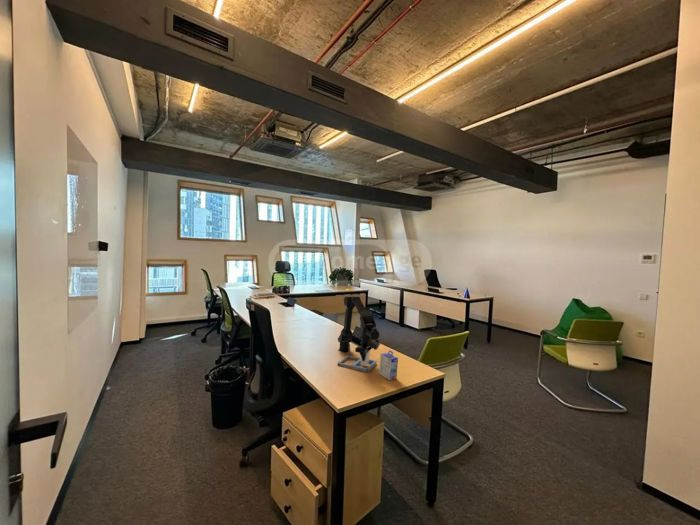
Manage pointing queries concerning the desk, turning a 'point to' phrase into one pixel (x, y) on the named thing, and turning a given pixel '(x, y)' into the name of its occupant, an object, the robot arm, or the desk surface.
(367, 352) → the cord plug
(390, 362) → the ink cartridge box
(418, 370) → the desk surface
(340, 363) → the frame
